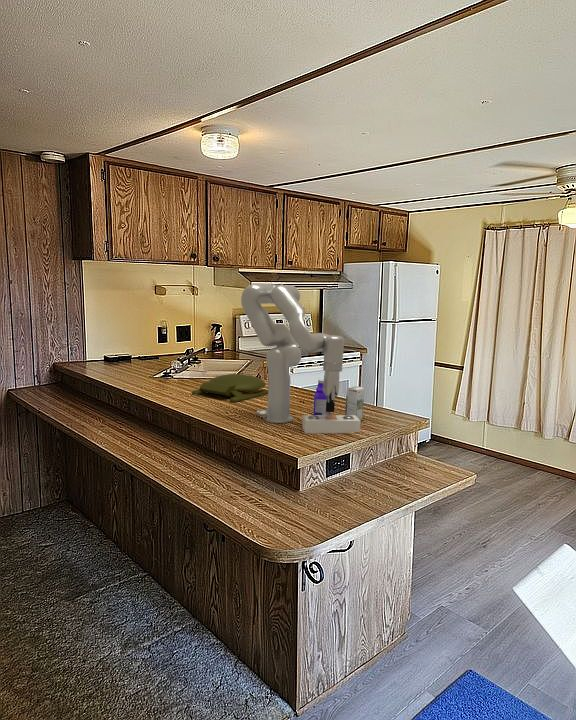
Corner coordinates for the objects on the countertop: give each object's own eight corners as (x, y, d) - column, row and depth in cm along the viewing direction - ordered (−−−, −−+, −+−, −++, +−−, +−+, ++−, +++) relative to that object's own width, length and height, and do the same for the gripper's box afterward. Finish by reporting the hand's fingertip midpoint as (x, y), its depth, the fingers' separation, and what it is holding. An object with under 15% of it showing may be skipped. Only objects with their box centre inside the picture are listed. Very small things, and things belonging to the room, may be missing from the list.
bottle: (328, 417, 237) (330, 378, 234) (330, 420, 231) (331, 381, 229) (312, 417, 237) (313, 378, 234) (313, 420, 231) (314, 380, 228)
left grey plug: (309, 430, 214) (310, 417, 213) (308, 428, 217) (308, 415, 216) (318, 430, 214) (319, 417, 213) (317, 428, 217) (317, 415, 217)
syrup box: (351, 417, 237) (353, 385, 235) (363, 420, 234) (364, 387, 232) (344, 420, 233) (345, 387, 231) (356, 422, 229) (357, 389, 227)
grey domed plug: (344, 430, 215) (344, 417, 214) (342, 428, 218) (343, 415, 218) (353, 430, 215) (353, 417, 214) (351, 428, 219) (351, 415, 218)
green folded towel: (235, 404, 260) (235, 384, 258) (189, 395, 277) (189, 376, 275) (277, 392, 288) (277, 374, 287) (233, 385, 305) (233, 368, 304)
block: (305, 433, 211) (305, 420, 210) (302, 427, 220) (302, 415, 219) (359, 433, 213) (360, 420, 212) (355, 427, 222) (355, 415, 221)
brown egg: (327, 428, 214) (327, 415, 213) (325, 426, 218) (326, 413, 217) (336, 428, 214) (336, 415, 214) (334, 426, 218) (334, 413, 217)
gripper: (320, 363, 220) (317, 406, 222) (326, 369, 205) (323, 416, 208) (338, 363, 220) (335, 407, 223) (345, 370, 206) (342, 416, 209)
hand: (329, 411), depth 215 cm, fingers closed
